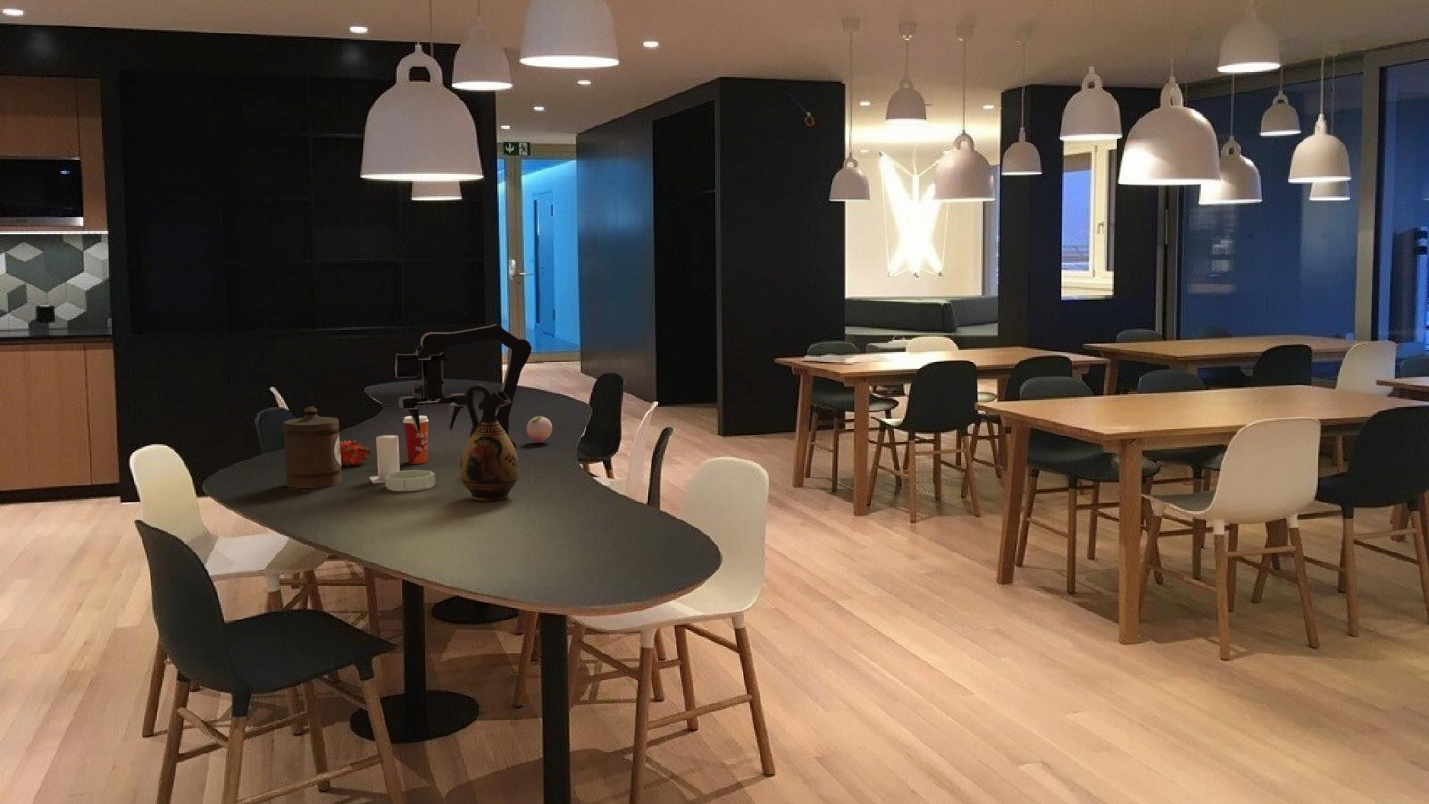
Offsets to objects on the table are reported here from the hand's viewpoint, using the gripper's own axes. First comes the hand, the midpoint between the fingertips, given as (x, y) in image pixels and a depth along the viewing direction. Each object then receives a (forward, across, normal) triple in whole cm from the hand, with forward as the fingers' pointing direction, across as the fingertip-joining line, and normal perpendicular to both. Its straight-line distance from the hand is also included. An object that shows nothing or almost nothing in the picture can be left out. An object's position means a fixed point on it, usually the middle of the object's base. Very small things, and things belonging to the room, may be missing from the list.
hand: (434, 430), depth 359 cm
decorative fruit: (+13, -44, -38) cm, 60 cm away
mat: (+13, +13, -1) cm, 19 cm away
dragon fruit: (+14, +18, -31) cm, 38 cm away
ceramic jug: (+13, -4, +38) cm, 40 cm away
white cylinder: (+13, +13, -1) cm, 18 cm away
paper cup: (+13, -1, -25) cm, 28 cm away
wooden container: (+14, +33, -5) cm, 36 cm away
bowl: (+13, +10, +14) cm, 22 cm away
